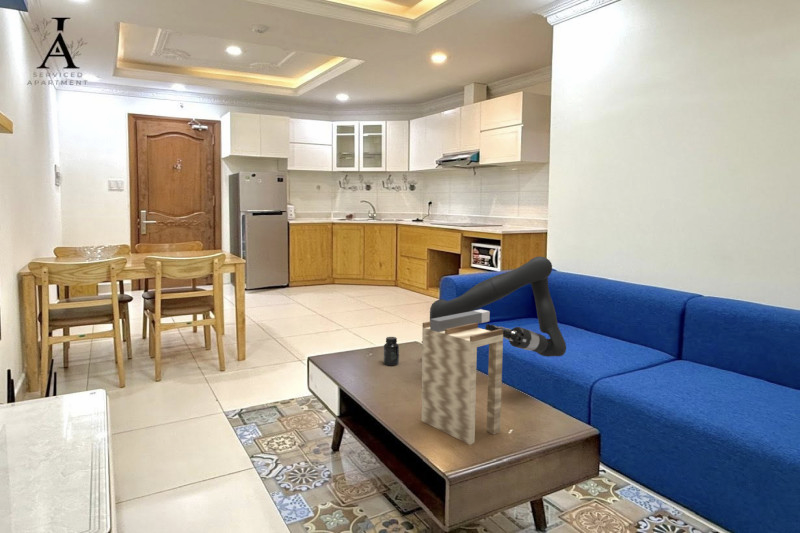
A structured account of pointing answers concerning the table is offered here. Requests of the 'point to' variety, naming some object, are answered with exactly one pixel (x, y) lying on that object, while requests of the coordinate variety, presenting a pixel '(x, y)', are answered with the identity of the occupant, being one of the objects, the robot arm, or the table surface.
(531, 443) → the table surface
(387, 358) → the supplement bottle
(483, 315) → the grey rectangular bar
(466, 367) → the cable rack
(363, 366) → the table surface
